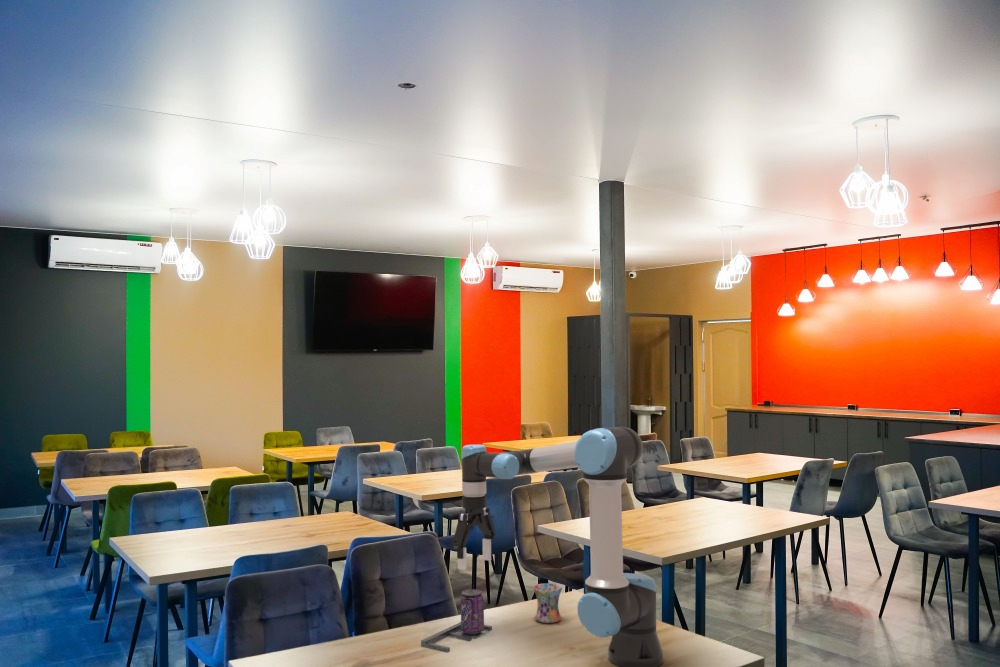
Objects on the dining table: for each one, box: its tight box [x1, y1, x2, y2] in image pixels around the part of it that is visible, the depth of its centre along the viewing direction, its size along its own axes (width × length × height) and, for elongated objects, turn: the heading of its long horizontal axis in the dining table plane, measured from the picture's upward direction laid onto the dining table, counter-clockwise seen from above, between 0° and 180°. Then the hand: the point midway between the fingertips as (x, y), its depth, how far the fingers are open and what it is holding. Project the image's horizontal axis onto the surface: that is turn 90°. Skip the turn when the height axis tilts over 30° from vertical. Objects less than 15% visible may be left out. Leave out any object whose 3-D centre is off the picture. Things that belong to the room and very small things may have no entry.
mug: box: [533, 582, 563, 624], centre depth 248 cm, size 12×9×11 cm
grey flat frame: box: [420, 621, 493, 653], centre depth 231 cm, size 10×23×2 cm, turn 147°
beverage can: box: [460, 589, 485, 634], centre depth 235 cm, size 7×7×12 cm
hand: (474, 564), depth 236 cm, fingers open, 13 cm apart
